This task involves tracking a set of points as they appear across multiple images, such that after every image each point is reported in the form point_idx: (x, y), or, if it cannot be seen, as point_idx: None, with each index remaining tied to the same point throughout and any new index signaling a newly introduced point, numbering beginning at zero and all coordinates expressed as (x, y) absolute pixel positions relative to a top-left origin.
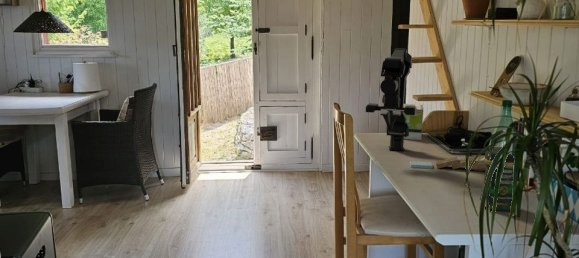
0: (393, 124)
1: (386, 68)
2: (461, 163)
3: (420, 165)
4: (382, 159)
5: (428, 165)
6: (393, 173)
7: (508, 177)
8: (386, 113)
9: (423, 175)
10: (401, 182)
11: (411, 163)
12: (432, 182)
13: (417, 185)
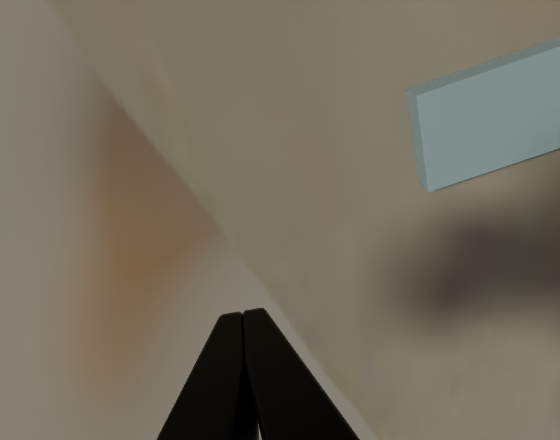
0: (332, 402)
1: None
2: None
3: (497, 168)
4: (142, 48)
5: (557, 147)
6: (333, 338)
7: None
8: None
9: (493, 295)
10: (391, 419)
11: (432, 156)
12: (524, 363)
13: (457, 418)
